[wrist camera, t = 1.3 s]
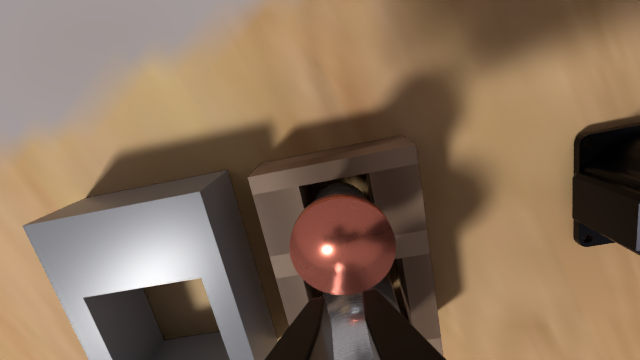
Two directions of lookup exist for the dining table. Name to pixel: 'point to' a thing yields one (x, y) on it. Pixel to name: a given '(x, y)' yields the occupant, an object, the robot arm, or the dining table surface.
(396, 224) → the socket block
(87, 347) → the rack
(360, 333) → the peg
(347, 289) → the pin
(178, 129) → the dining table surface
